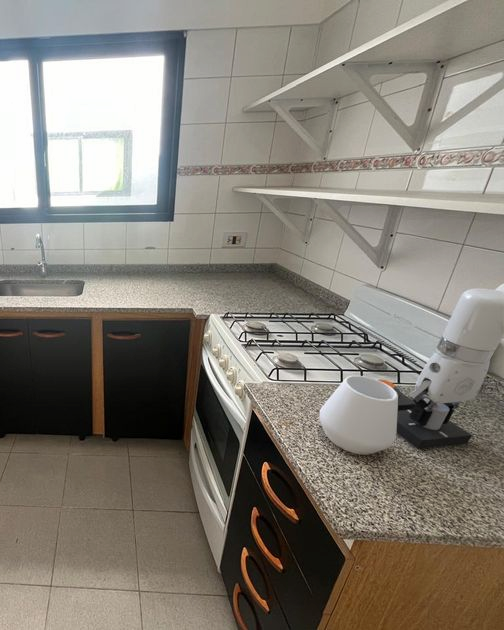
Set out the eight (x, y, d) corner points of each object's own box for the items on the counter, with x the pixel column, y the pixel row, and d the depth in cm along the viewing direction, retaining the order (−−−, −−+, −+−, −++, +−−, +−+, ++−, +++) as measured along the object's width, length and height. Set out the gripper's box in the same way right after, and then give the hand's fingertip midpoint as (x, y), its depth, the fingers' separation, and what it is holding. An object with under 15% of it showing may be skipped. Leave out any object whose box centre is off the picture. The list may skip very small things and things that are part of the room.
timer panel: (425, 416, 83) (429, 407, 82) (467, 443, 75) (472, 434, 74) (380, 420, 82) (384, 411, 80) (418, 449, 73) (423, 439, 72)
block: (382, 388, 93) (387, 376, 91) (415, 410, 85) (421, 397, 83) (344, 391, 92) (349, 379, 90) (374, 414, 83) (380, 401, 82)
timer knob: (425, 415, 79) (434, 396, 77) (445, 428, 75) (456, 409, 73) (408, 417, 79) (417, 398, 77) (427, 430, 75) (437, 411, 73)
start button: (383, 384, 88) (385, 378, 88) (396, 393, 85) (399, 387, 84) (370, 385, 88) (373, 380, 87) (383, 394, 85) (386, 388, 84)
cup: (384, 474, 68) (411, 418, 62) (307, 439, 76) (324, 387, 70) (391, 437, 76) (416, 386, 71) (321, 410, 85) (338, 362, 79)
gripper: (446, 362, 65) (410, 436, 73) (523, 356, 67) (479, 429, 74) (408, 343, 72) (378, 412, 79) (479, 338, 74) (443, 406, 81)
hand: (427, 420), depth 77 cm, fingers closed on timer knob, 4 cm apart
